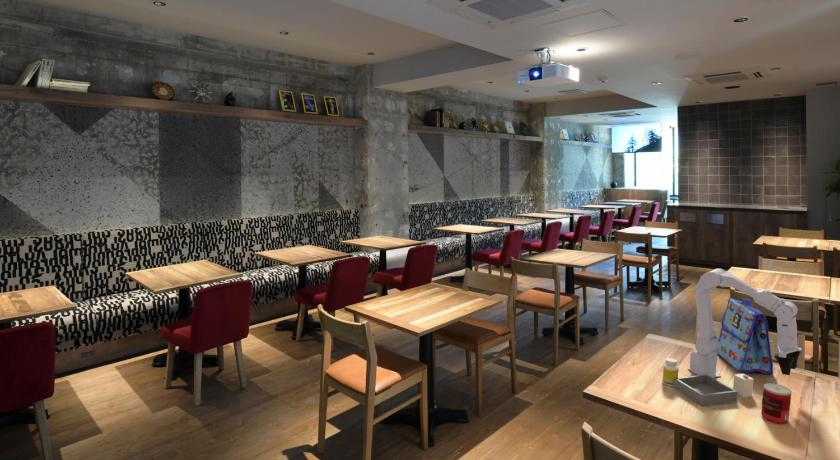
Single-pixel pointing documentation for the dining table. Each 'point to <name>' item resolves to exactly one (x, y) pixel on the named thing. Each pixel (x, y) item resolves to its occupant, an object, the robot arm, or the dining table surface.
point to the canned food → (776, 403)
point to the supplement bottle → (670, 371)
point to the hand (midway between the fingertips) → (788, 371)
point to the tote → (705, 390)
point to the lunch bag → (745, 338)
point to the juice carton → (743, 385)
